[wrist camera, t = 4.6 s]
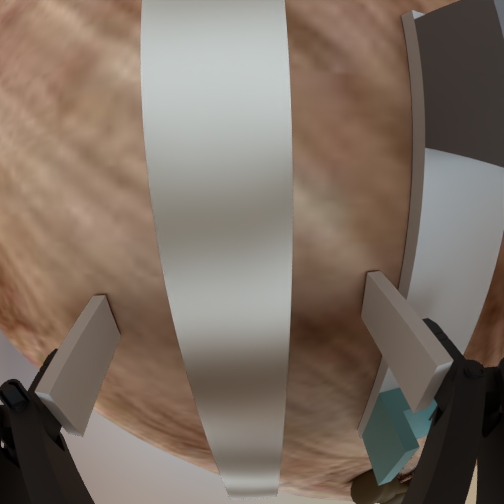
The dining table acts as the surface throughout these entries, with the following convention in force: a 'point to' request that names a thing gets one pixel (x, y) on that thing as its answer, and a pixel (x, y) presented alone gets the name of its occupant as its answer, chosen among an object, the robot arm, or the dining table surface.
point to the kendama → (377, 490)
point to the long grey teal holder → (446, 200)
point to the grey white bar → (225, 216)
